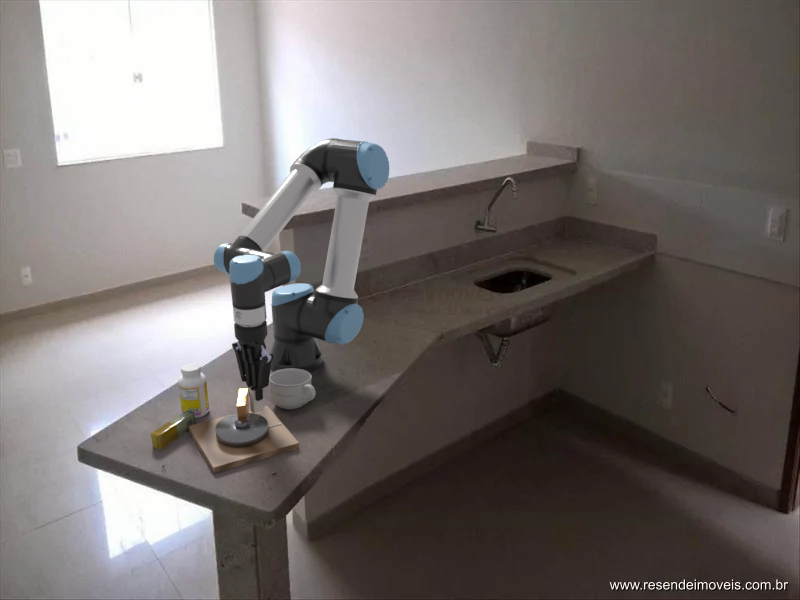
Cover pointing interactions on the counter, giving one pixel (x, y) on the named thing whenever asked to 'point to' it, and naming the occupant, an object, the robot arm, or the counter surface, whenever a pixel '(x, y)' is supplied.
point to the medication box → (172, 430)
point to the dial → (242, 425)
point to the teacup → (291, 388)
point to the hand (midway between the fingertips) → (257, 410)
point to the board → (233, 457)
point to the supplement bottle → (193, 390)
